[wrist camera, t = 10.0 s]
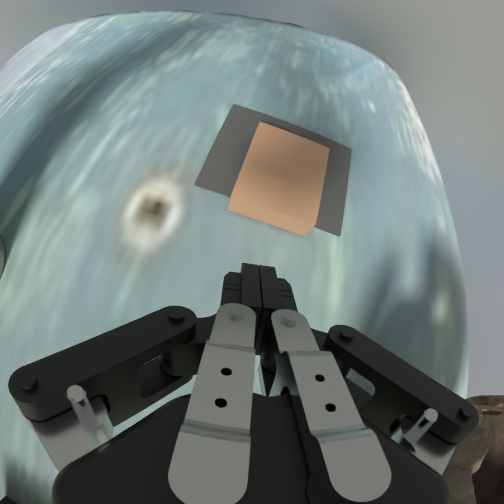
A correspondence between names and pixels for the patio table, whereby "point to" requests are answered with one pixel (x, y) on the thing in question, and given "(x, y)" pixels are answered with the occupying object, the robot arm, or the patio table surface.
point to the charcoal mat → (235, 150)
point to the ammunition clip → (7, 501)
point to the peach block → (281, 180)
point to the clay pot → (479, 457)
